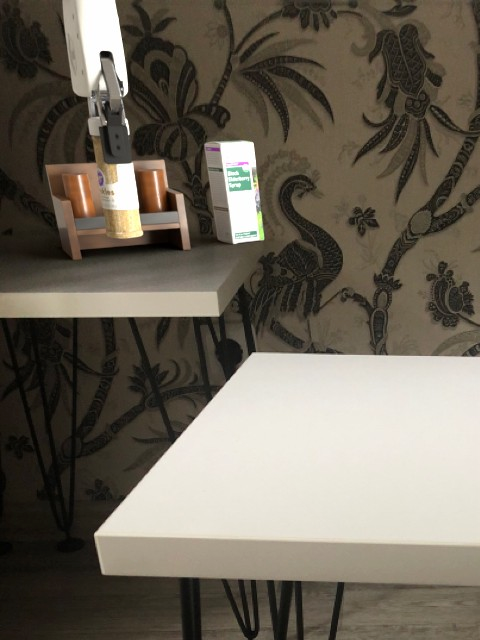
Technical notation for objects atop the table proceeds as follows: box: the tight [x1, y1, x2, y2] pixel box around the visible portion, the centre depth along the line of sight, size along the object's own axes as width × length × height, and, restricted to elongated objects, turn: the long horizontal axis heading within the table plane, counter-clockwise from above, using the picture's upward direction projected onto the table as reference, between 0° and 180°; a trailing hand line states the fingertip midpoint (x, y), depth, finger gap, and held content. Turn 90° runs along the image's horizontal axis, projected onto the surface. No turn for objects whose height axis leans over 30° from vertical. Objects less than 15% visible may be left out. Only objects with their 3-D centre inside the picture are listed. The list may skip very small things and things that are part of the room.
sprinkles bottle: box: [87, 117, 143, 239], centre depth 113 cm, size 5×5×13 cm
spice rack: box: [44, 159, 192, 261], centre depth 139 cm, size 17×10×12 cm, turn 119°
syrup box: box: [203, 140, 265, 245], centre depth 145 cm, size 6×6×14 cm
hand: (113, 160), depth 112 cm, fingers closed on sprinkles bottle, 4 cm apart
